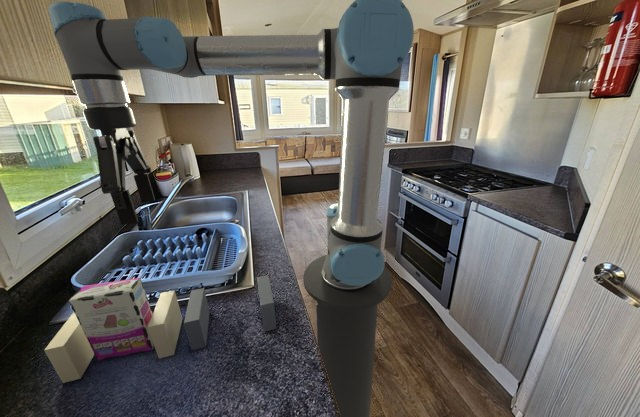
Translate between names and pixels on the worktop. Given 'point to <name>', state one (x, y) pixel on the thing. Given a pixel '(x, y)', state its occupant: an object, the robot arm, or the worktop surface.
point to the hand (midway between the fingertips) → (140, 210)
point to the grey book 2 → (266, 303)
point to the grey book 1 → (197, 319)
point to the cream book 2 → (165, 324)
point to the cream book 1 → (70, 351)
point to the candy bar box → (114, 317)
